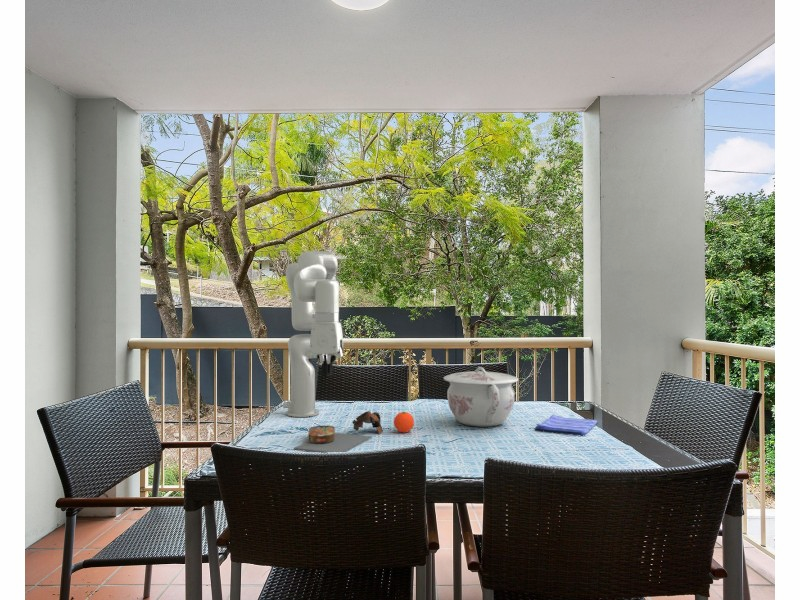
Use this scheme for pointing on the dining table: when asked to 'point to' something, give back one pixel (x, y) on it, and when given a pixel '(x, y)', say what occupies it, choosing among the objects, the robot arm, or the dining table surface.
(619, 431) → the dining table surface
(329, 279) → the robot arm
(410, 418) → the clementine
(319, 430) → the tin
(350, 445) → the mat
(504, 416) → the chamber pot
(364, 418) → the pottery mug
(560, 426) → the dish towel
